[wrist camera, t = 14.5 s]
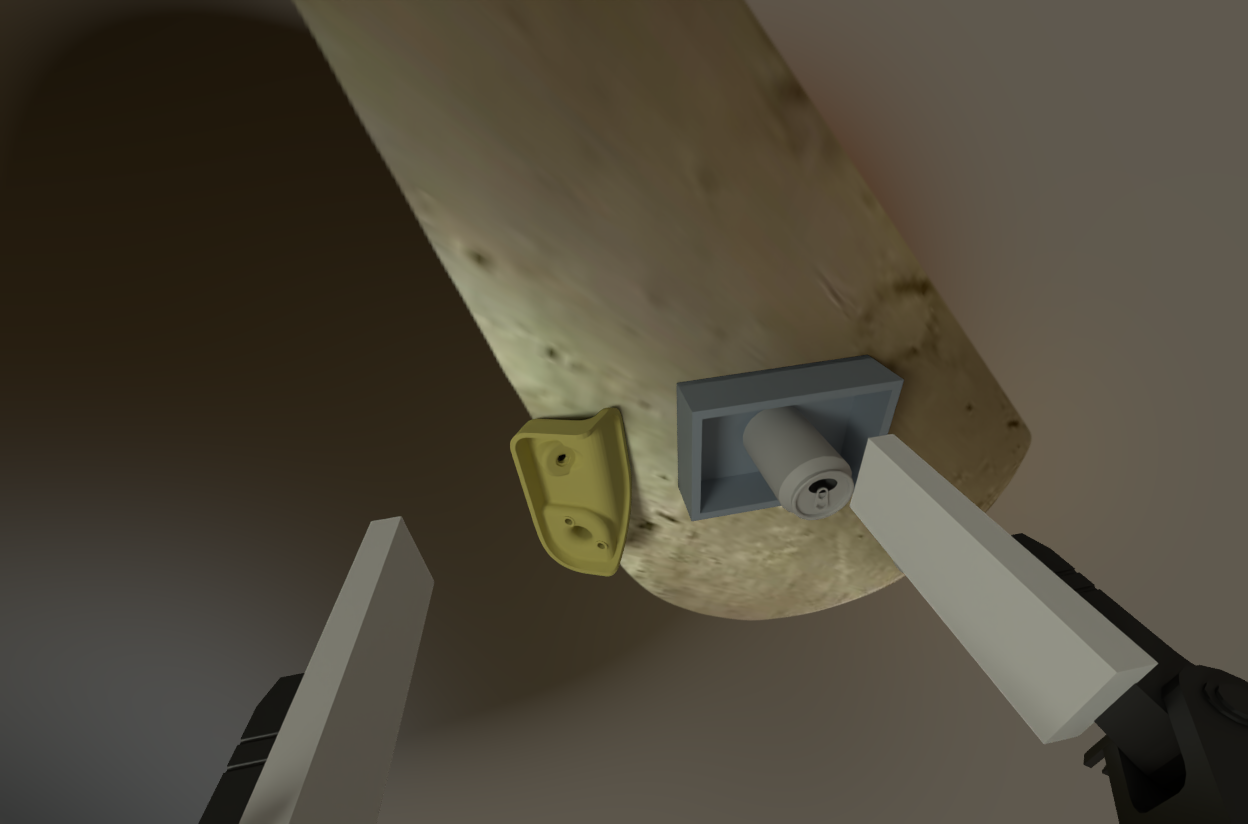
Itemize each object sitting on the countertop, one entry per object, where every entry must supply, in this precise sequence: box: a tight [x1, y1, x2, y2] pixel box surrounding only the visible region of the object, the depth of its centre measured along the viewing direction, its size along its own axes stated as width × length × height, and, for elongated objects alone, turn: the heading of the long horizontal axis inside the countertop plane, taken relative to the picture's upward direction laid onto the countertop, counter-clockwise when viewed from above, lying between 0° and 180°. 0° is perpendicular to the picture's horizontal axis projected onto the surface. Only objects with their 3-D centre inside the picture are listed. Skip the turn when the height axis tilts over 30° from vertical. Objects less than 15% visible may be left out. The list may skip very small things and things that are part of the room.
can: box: [743, 406, 854, 520], centre depth 47 cm, size 8×8×12 cm
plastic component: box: [510, 408, 632, 576], centre depth 51 cm, size 20×7×10 cm
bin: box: [677, 355, 904, 521], centre depth 50 cm, size 15×22×6 cm
